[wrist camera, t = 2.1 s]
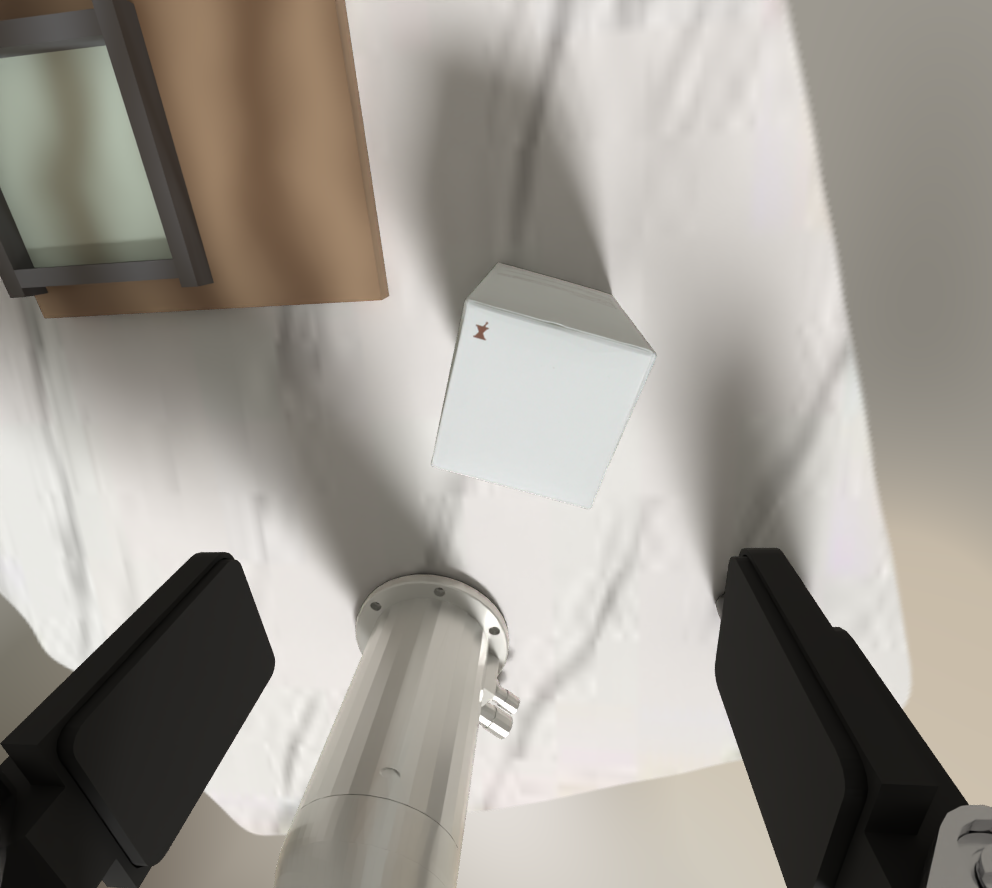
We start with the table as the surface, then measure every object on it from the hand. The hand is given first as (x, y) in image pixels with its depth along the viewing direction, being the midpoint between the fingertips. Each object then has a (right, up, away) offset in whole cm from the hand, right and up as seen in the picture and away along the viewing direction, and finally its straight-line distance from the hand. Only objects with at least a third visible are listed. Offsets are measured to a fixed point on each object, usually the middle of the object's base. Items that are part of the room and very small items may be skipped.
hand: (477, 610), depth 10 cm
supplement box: (+3, +10, +21) cm, 24 cm away
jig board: (-18, +19, +19) cm, 32 cm away
